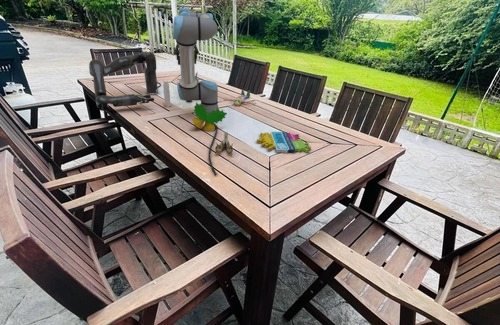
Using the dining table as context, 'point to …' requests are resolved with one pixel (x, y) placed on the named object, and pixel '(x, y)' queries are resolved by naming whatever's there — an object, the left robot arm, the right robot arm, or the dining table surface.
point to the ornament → (207, 117)
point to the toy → (241, 99)
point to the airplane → (195, 78)
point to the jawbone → (224, 145)
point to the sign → (283, 142)
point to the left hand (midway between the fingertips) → (152, 97)
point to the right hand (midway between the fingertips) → (187, 64)
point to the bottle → (166, 93)
